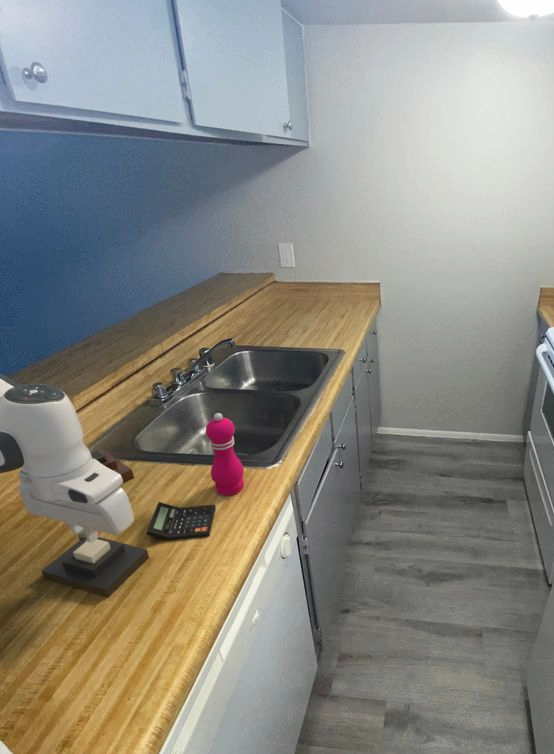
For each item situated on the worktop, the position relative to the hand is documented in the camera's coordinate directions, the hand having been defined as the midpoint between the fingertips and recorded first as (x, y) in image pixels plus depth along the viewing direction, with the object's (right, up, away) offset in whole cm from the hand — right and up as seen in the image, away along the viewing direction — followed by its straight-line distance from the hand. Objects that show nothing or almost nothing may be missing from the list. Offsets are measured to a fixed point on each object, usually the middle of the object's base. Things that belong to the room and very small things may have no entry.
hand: (88, 538), depth 85 cm
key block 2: (-17, +7, +28) cm, 33 cm away
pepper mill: (+16, +5, +26) cm, 31 cm away
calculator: (+10, -1, +15) cm, 18 cm away
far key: (-16, +11, +26) cm, 33 cm away
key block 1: (0, -7, +3) cm, 7 cm away
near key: (0, -3, +2) cm, 4 cm away
